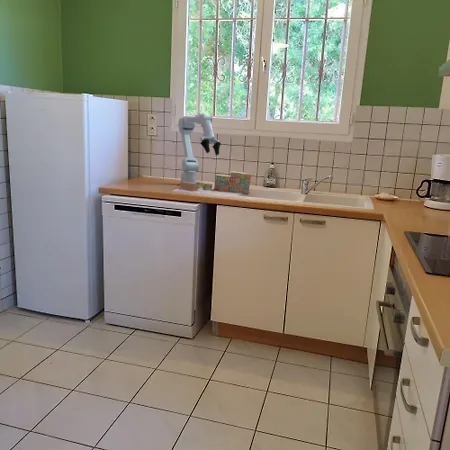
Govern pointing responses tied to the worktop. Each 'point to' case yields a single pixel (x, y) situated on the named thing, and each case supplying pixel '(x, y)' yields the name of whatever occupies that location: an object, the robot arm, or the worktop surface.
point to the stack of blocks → (233, 182)
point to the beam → (189, 186)
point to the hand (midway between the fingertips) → (212, 153)
